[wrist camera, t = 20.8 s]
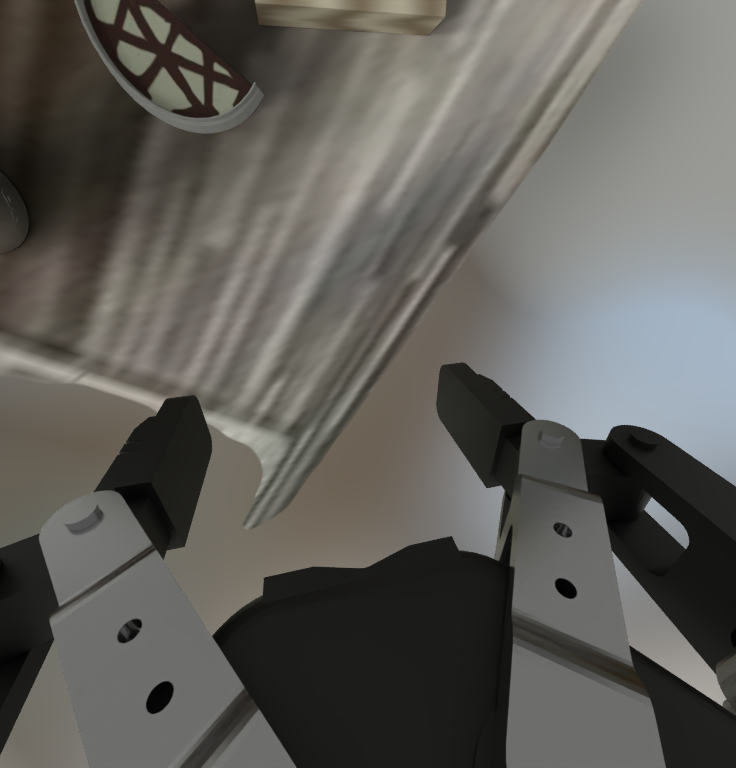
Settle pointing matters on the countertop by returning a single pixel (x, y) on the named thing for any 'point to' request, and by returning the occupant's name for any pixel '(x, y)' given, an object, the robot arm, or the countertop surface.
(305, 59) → the countertop surface
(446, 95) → the countertop surface
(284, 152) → the countertop surface
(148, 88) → the food container
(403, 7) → the birch base
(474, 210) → the countertop surface
